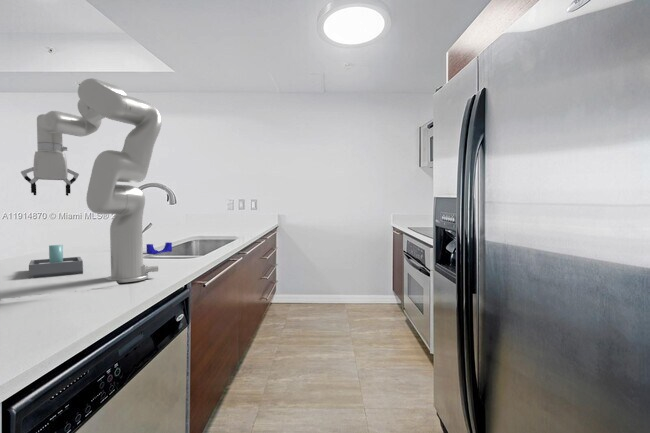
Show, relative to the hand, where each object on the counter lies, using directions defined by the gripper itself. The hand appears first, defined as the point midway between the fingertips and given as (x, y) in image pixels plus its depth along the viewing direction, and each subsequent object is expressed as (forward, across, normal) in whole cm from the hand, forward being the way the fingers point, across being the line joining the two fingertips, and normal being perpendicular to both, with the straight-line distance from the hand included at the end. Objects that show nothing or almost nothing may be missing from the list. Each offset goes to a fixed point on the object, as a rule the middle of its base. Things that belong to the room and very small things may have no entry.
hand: (51, 195), depth 138 cm
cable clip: (+29, -44, -28) cm, 59 cm away
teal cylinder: (+27, -1, +6) cm, 28 cm away
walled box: (+28, -1, +6) cm, 29 cm away
